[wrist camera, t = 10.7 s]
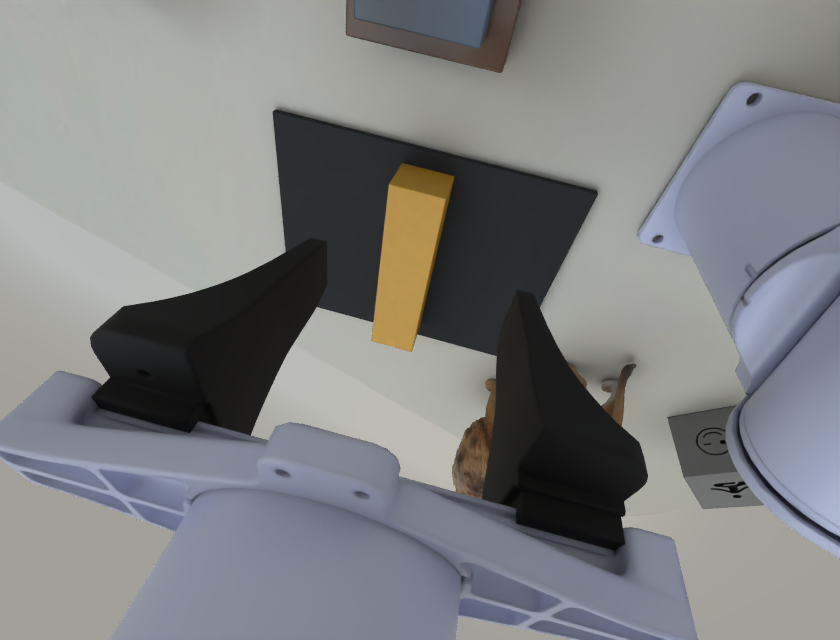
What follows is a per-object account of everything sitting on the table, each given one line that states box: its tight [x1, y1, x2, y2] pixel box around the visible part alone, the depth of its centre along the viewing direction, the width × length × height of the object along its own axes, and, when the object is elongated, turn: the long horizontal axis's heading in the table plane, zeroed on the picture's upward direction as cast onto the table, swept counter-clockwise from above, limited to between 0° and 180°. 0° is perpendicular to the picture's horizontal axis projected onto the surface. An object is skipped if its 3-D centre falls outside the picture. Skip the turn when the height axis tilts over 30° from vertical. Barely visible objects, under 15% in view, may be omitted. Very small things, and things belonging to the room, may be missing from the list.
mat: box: [273, 110, 598, 356], centre depth 26 cm, size 18×14×1 cm
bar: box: [372, 163, 454, 352], centre depth 25 cm, size 12×3×3 cm, turn 171°
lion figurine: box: [452, 363, 636, 499], centre depth 29 cm, size 15×5×9 cm, turn 132°
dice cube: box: [668, 406, 764, 509], centre depth 30 cm, size 5×5×5 cm
